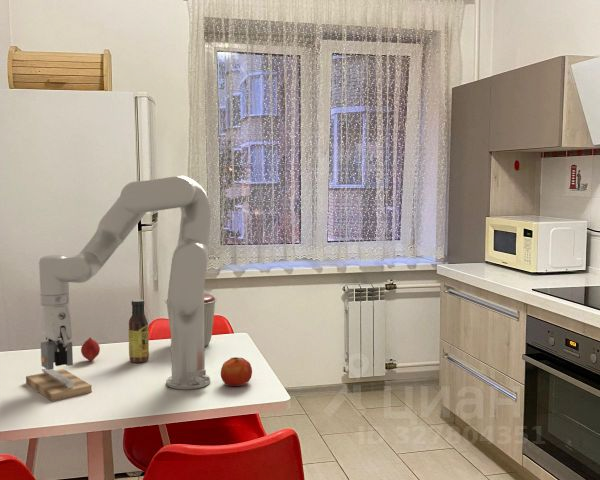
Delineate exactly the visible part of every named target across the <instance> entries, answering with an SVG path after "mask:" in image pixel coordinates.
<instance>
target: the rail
mask: <svg viewBox="0 0 600 480" xmlns="http://www.w3.org/2000/svg"><path fill="white" fill-rule="evenodd" d="M41 372H42V373H43V374H44V375H46V376H47V377H49V378H51V379H52V380H54V381H55V382H57V383H59V384H60V385H62V386H63V387H65V388H66V389H71V388H73V384H75V382H73V381H71V380H70V379H68V378H66V377H65V376H63V375H62V374H60V373H58V372H57V371H55V369H50V370H48V369H46V368H42V369H41Z"/></svg>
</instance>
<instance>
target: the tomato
mask: <svg viewBox="0 0 600 480" xmlns="http://www.w3.org/2000/svg"><path fill="white" fill-rule="evenodd" d="M252 376H253V369H252V365H251V363H250V362H249V361H248V360H247V359H245V358H243V357H231V358H229V359H228V360H226V361H224V362H223V364H222V365H221V368H220V377H221V380H222V382H224V384H225V385H226V386H230V387H240V386H244V385H245V384H247V383H249V382H250V380H251V378H252Z"/></svg>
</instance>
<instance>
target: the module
mask: <svg viewBox="0 0 600 480" xmlns="http://www.w3.org/2000/svg"><path fill="white" fill-rule="evenodd" d="M58 339H59V340H62V339H61V338H58ZM68 341H69V343H68V345H67V364H65V366H67V367H69V366H73V365H74V361H73V360H74V359H73V341H71V340H68ZM61 343H62V342H60V343H58V344H59V345H60V344H61ZM55 352H56V347H55V341H47V340H46V341H43V342H42V341H41V342H40V361H41V362H40V363H41V367H42V368H43V369H48V370H50V369H53V370H55V369H54V364H55Z"/></svg>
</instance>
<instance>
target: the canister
mask: <svg viewBox="0 0 600 480" xmlns="http://www.w3.org/2000/svg"><path fill="white" fill-rule="evenodd" d="M217 301H218V299H217V297H215V296H214V295H212V294H210V293H206V292H204V347H206V346H208V344H210V342H211V341H212V335H213V326H214V316H215V308H216V307H215V305H216V304H215V303H216V302H217ZM164 302H165V305H166V310H167V318H168V323H169V324H168V325H169V331H170V333H171V307H170V306H169V303H168V297H167V298H166V299H165V300H164Z"/></svg>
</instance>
